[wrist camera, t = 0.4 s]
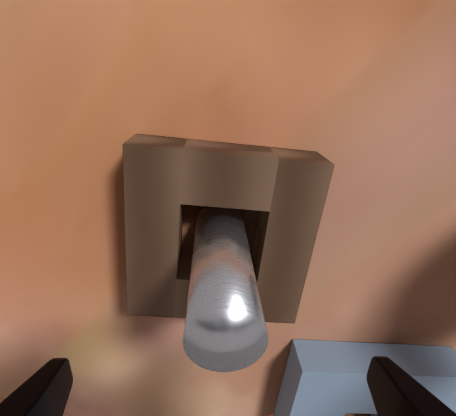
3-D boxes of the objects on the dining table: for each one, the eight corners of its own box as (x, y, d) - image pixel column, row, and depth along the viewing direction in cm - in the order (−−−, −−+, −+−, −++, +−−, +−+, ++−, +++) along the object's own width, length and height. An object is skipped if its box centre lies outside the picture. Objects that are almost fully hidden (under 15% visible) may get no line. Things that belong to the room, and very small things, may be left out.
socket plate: (451, 346, 26) (478, 377, 24) (398, 445, 32) (416, 480, 29) (292, 339, 25) (302, 371, 22) (266, 443, 31) (271, 480, 28)
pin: (246, 204, 20) (274, 311, 11) (240, 246, 21) (261, 373, 12) (198, 200, 20) (185, 306, 11) (194, 242, 21) (181, 370, 12)
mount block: (316, 151, 19) (334, 164, 16) (284, 294, 23) (294, 323, 21) (136, 133, 18) (122, 144, 15) (137, 285, 22) (127, 315, 20)
